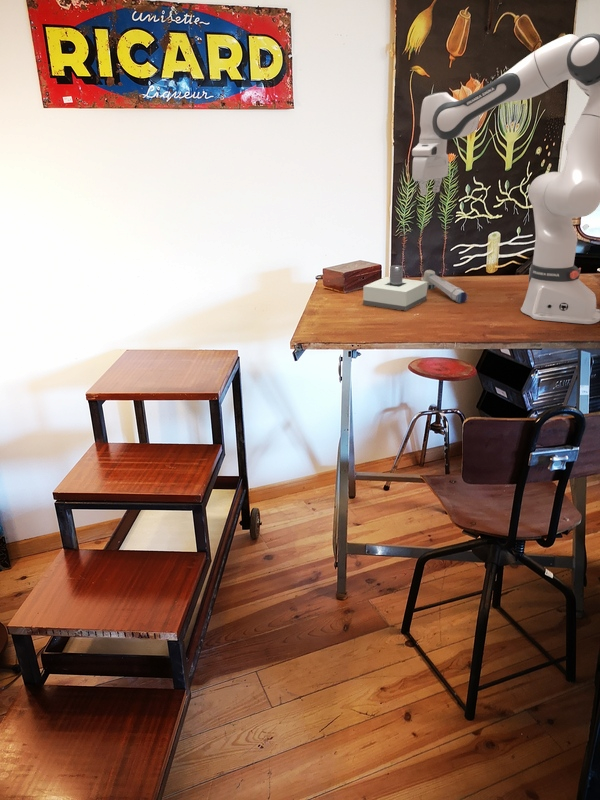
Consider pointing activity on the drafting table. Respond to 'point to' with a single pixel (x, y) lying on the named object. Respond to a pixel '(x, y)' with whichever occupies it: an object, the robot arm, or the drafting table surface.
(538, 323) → the drafting table surface
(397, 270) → the dark grey upright bar
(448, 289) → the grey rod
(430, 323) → the drafting table surface
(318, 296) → the drafting table surface
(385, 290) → the socket block
